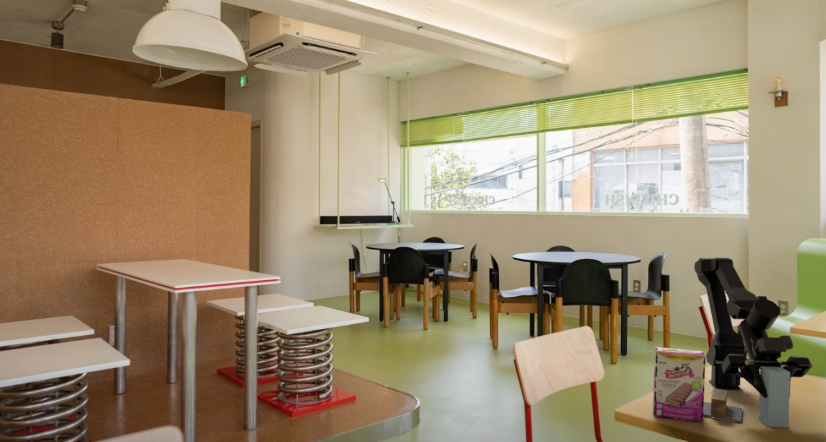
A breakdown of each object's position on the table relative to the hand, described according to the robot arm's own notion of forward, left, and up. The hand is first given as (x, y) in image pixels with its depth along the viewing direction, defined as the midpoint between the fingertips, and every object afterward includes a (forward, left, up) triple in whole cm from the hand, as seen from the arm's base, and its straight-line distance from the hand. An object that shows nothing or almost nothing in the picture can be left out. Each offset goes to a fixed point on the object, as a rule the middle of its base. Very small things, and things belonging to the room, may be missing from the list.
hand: (777, 397), depth 136 cm
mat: (-11, +6, -7) cm, 14 cm away
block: (0, +1, -7) cm, 7 cm away
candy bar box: (-22, +1, -7) cm, 23 cm away
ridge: (-11, +6, -7) cm, 14 cm away
